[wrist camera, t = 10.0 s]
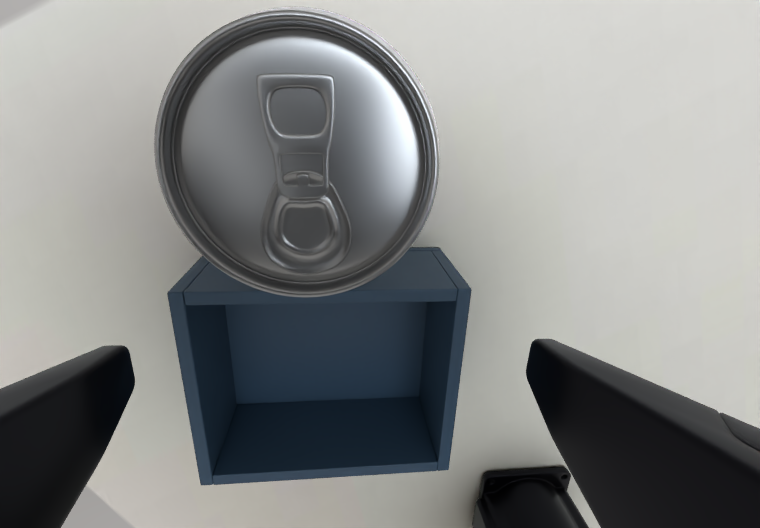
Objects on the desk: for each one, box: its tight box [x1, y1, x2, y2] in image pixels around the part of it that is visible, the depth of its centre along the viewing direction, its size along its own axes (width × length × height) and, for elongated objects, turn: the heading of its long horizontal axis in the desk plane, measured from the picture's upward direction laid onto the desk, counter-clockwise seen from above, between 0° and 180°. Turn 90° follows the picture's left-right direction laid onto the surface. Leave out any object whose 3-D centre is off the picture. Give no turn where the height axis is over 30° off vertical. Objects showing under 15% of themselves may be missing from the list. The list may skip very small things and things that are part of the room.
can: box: [154, 7, 440, 297], centre depth 13 cm, size 6×6×12 cm
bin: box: [167, 248, 471, 485], centre depth 20 cm, size 12×10×6 cm
